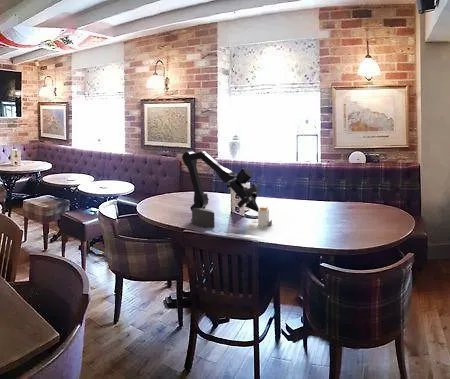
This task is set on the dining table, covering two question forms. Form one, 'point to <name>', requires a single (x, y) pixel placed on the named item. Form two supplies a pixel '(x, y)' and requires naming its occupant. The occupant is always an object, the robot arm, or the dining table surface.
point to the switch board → (259, 225)
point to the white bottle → (263, 216)
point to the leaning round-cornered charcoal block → (203, 217)
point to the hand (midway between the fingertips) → (259, 211)
